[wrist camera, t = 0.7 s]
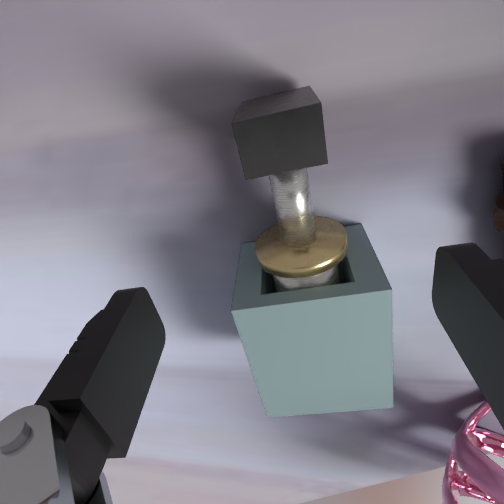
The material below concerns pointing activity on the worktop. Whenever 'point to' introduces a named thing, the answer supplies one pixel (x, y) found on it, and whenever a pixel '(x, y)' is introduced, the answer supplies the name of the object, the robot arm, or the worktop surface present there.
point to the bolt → (499, 208)
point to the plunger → (290, 187)
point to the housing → (318, 335)
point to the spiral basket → (474, 463)
